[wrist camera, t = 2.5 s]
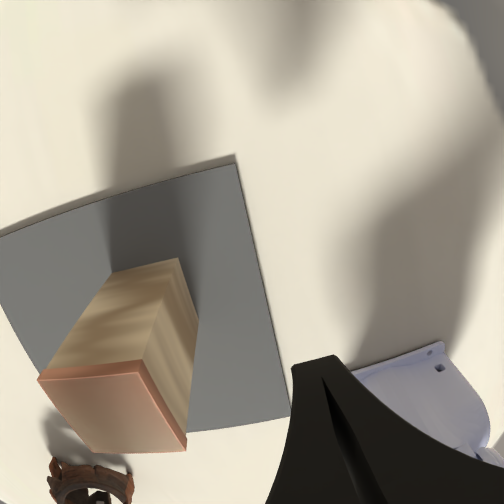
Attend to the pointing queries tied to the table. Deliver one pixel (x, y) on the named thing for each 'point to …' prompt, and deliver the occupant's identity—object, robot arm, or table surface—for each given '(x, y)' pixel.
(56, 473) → the brown curved piece
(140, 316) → the maple block
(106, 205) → the charcoal mat
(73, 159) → the table surface
